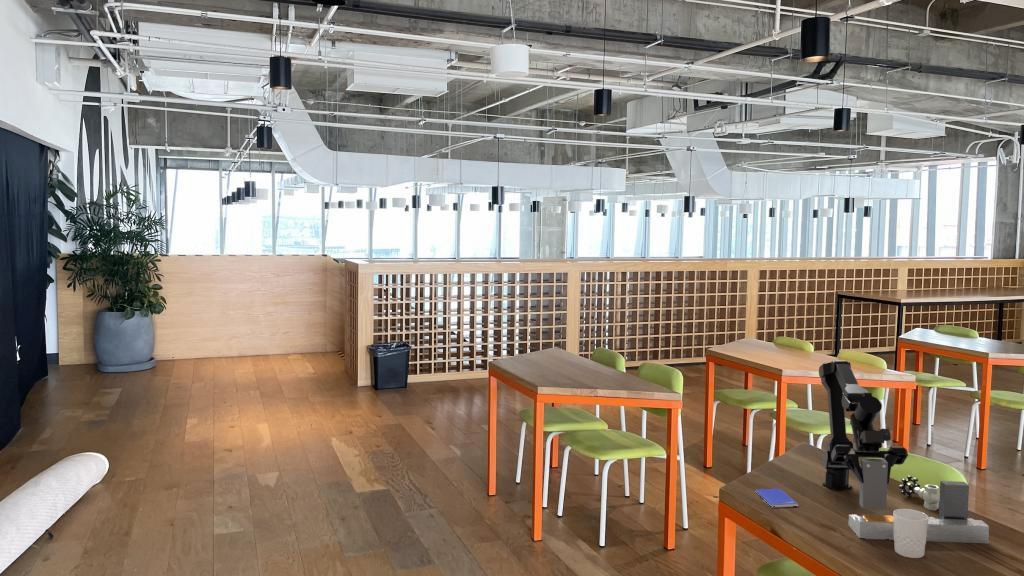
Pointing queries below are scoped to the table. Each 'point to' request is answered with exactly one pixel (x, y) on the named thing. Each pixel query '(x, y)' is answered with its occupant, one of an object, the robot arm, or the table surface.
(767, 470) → the table surface
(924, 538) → the white cup
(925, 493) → the valve
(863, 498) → the grey rectangular block
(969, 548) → the table surface
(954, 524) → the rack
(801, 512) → the table surface
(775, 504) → the hard drive
